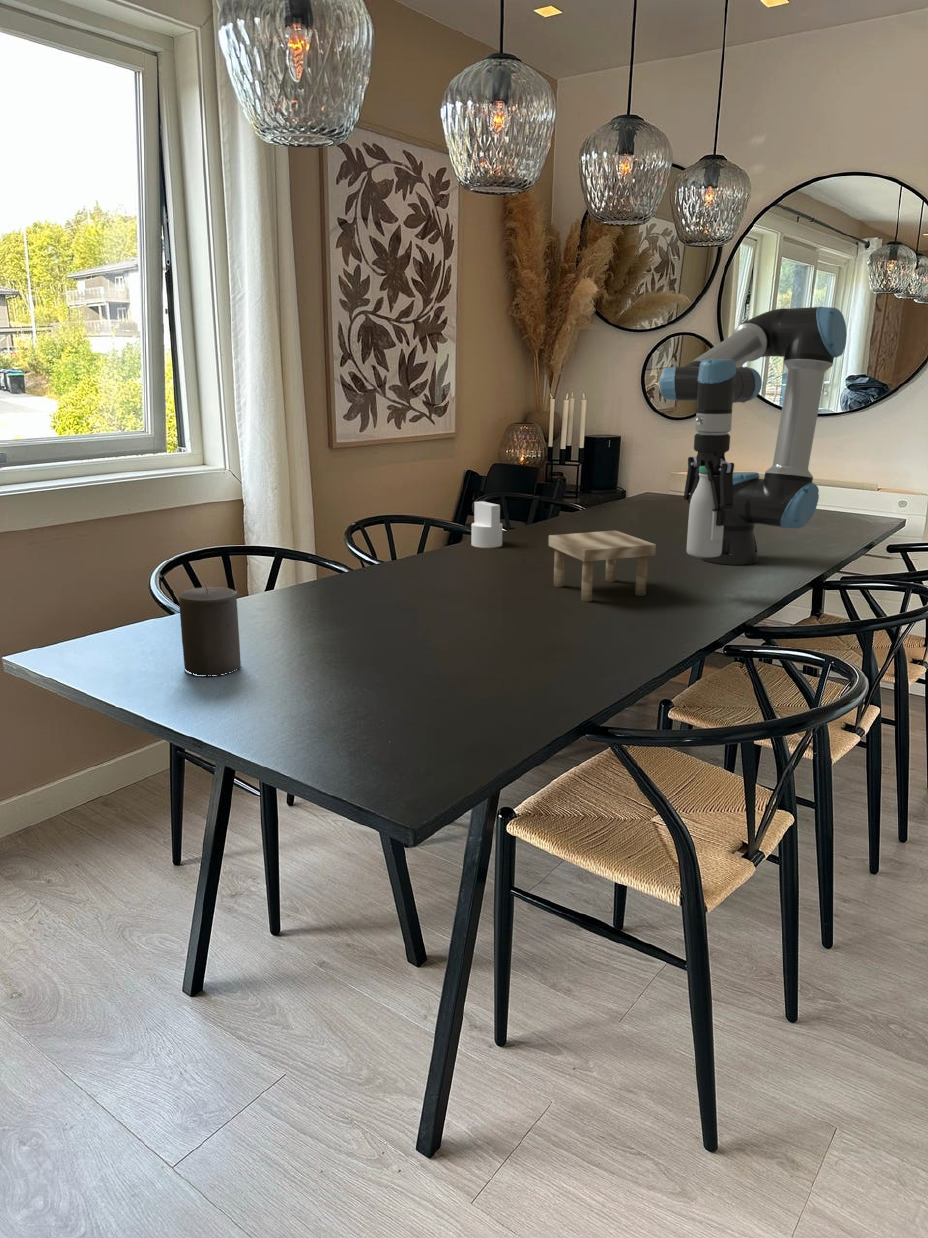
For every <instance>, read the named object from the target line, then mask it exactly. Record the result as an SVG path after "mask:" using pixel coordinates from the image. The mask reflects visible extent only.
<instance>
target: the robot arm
mask: <svg viewBox="0 0 928 1238" xmlns="http://www.w3.org/2000/svg"><path fill="white" fill-rule="evenodd" d="M846 325H847V324H846V321H845V317H844V314H843V313H842V312H841V310H840V309H839V308H836V307H831V306H830V307H829V306H827V307H826V306H825V307H824V306H812V307H810V306H809V307H794V308H785V307H784V308H778V309H777V308H776V309H775V308H774V309H772V310H768V311H766V312H763V313H761V314H759V315H756V316H754V317H752V318H750V319H748V320H746V321H744V322H743V323H741V324H740V325H738V326H737V327H736V328H735V329H734V330H733V331H732V334H731V335H730V336H728V337H727V338H726V339H724V340H722V341H721V342H720V343H717V344H716V345H714V347H712V348H710V349H709V350H707V351H706V352H704V353H702V354H701V355H699V356H698V357H696V358H694V359H693V360H692V361H690V362H689V363H687V364H685V365H684V366H677V365H675V366H668V367H666V368H664V369H663V370H662V372H661V374H660V377H659V383H658V386H659V387H658V388H659V393H660V395H661V397H662V398H663V399H664V400H670V401H675V402H679V401H681V402H696V416H695V425H694V427H695V428H694V430H695V432H697V433H695V435H694V441H693V450H694V451H695V452H697V455H696V456H688V458H687V465H688V466H687V472H686V473H687V474H686V479H685V487H684V493H683V500H684V501H687V503H688V504H689V505H690V502H691V498H692V495H693V493H694V491H695V489H696V487H697V485H698V483H699V479H700V476H699V467H700V466H703V465H704V466H705V467H706V469H708V472H707V475H708V480H709V481H710V482H711V487H712V493H713V499H714V505H715V509H712V510H713V511H712V523H711V537H710V540H712V541H714V540H723V543H722V553H721V555H720V556H717V557H699V558H700V559H701V560H703V561H705V562H709V563H712V564H713V563H715V564H720V565H730V566H731V565H733V566H734V565H738V566H739V565H750V564H754V563H757V562H758V561H759V549H758V546H757V541H756V537H755V533H754V531H755V530H754V529H755V524H756V525H762V526H769V527H776V528H781V529H796V530H797V529H801V528H804V527H805V526H806V525H807V524H809V522H810V520H811V519H812V518H813V516H814V514H815V512H816V509H817V506H818V502H819V500H820V499H819V498H820V495H819V492H820V489H819V487H818V485H817V484H815V483H814V482H813V480H814V475H813V474H812V473H811V472H810V470H809V465H810V460H811V455H812V448H813V443H814V442H813V441H814V437H815V432H816V431H815V430H816V427H817V419H818V416H819V415H818V414H819V408H820V404H821V403H820V402H821V396H822V391H823V386H824V380H825V375H826V372H827V371H828V370H830V369H831V368H832V367H833V365H834V359H835V358H838V357H841V356H842V355H843V354H844V351H845V349H846V345H847V326H846ZM763 357H766V358H767V357H781V358H782V357H783V364H784V366H786V368H787V370H788V371H787V372H788V373H787V378H786V383H785V389H784V395H783V401H782V407H781V414H780V418H779V419H780V420H779V426H778V431H777V437H776V442H775V450H774V456H773V461H772V465H771V466H770V467H769V468H768V469H767V470H766V471H765V472H764V478H760V473H759V472H757V471H756V472H755V471H748V472H747V471H744V472H743V471H742V472H734V469H735V463H734V462H728V461H726V457H725V455H726V453H728V452H729V450H730V442H731V435H730V434H729V433H730V432H731V431H732V421H733V403H742V404H743V403H746V402H749V401H752V400H753V399H755V398H757V396H758V395H759V394H760V392H761V390H762V386H763V385H762V384H763V382H762V376H761V375H760V373H759V372H758V371H757V369H755V368H752V367H749V366H743V365H745V364H746V363H747V362H754V361H757V360H759V359H760V358H763ZM701 474H702V473H701ZM715 475H719V476H715ZM688 509H690V506H689V508H688ZM723 528H724V530H723Z"/></svg>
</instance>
